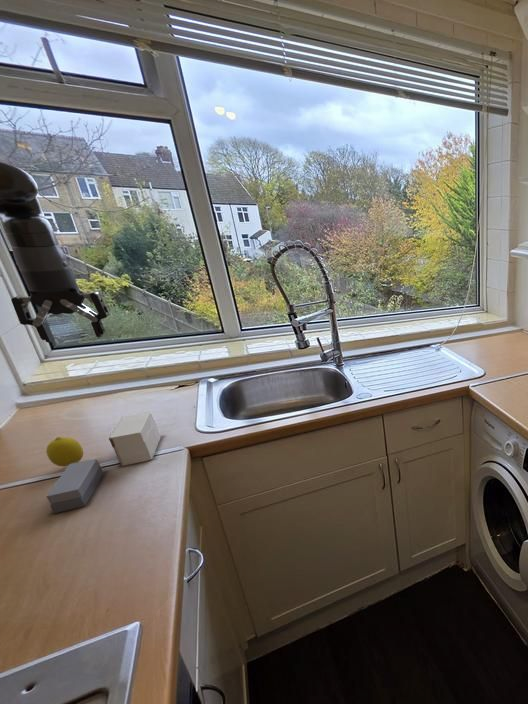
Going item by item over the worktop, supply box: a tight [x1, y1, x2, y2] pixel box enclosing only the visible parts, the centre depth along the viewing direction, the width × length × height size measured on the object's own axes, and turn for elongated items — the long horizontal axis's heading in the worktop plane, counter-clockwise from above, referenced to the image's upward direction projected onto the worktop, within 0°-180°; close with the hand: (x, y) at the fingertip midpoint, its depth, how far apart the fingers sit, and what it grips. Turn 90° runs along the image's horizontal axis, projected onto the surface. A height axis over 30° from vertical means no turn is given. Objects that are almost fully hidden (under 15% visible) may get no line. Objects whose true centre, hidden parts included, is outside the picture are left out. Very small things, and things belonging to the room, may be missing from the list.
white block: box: [113, 420, 162, 467], centre depth 101 cm, size 6×12×5 cm, turn 30°
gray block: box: [46, 458, 104, 514], centre depth 87 cm, size 5×13×4 cm, turn 30°
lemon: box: [46, 436, 84, 467], centre depth 94 cm, size 6×6×8 cm
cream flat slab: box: [108, 411, 154, 449], centre depth 100 cm, size 6×12×3 cm, turn 30°
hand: (75, 338), depth 95 cm, fingers open, 8 cm apart
